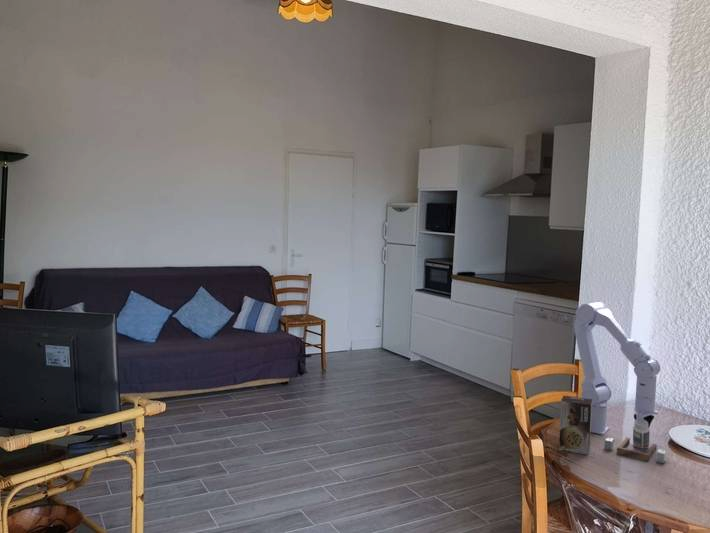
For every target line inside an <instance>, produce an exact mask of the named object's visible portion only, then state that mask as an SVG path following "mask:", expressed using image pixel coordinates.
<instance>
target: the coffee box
mask: <svg viewBox="0 0 710 533" xmlns="http://www.w3.org/2000/svg"><path fill="white" fill-rule="evenodd" d="M559 416H560V417H559V418H560V421H559V435H558V436H559V438H558V439H559V440H558V450H559V449H561V450H560V451H563V450H566V451H565V452H568V451H571V453H575V454H576V453H577V454H580V453H581V454H580V455H587V456H588V455H590V452H591V451H590V450H591V433H592V432H591V417H592V399H586V398H582V397H579V396H570V395H563V396H562V398H561V401H560V415H559Z"/></svg>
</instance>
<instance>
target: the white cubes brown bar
mask: <svg viewBox="0 0 710 533" xmlns="http://www.w3.org/2000/svg"><path fill="white" fill-rule="evenodd" d="M630 440H631V438H630V437H625V439H624V440H623V441H622V442H621V444H619V446H617V447H616V455H620V456H624V457H629V458H632V459H637V460H640V461H644V462H649V461H650V459H651V458H652V457H653V455H654V453H655V451H656V450H657V451H656V460H655V462H656V463H660V464H664V463H666V460H667V459H666V458H667V450H665V449H660V448H659V449H657V443H652V445H651V446H650V448H649V449H648V451H647V452H643V451H638V450H633V449H629V448H626V447H627V446H628V445H629V443H630ZM614 442H615V438H612V437H609V436H608V437H606V438H605V439H604V448H603V449H604V450H607V451H612V450H613V449H614V447H615V446H614V444H615V443H614Z"/></svg>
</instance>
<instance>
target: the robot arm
mask: <svg viewBox="0 0 710 533" xmlns="http://www.w3.org/2000/svg"><path fill="white" fill-rule="evenodd" d="M596 325H597V326H600V327H604V328H605V329H606V330H607V331H608V332H609V334H611V337H613V338H614V340H616V342H618V343H619V345H620V352H621V353H622V354H623V355H624V356H625V357H626V359H627V360H628V361H629V363H630V364H631V365H632V366H633V372H634V374H635V375H636V384H635V387H636V388H635V398H634V400H635V401H634V407H633V411H634V412H635V413H634V414H633V418H634V421H635V420H638V421H643V420H646V421H647V422H648V427H649V428H650V427H651V424H652V422H653V420H654V419H655V416H654V415H658V414H659V410H655V405H656V404H655V403H656V391H657V389H656V388H657V375H659V373H660V371H661V365H660V363H659V362H658V360H657V359H655V358H653V357H651V355H650V354H648V353H647V352H646V351H645V350H644V349H643V347H642V344H641V342H639V341H637V340H636V339H631V338H629V336H628V334H627V333H626V331H624V329H623V327H622V326H621V325H620V324H619V323H618V321H617V320H616V318H615V317H614V315H613V314H612V311H611V310H610V309H609V308H608V307H607V306H606V304H605V303H604V302H601V301H596V302H591V303H583V304H581V305H579V307H578V308H577V309H576V310H575V320H574V325H573V331H574V335H575V339H576V344H577V348H578V352H579V357H580V362H581V367H582V371H583V376H584V378H583V380H582V383H581V388H582V389H581V398H586V399H592V417H591V433H592V434H593V433H594V434H598V435H601V436H604V435H605V434H606V432H608V430H609V429H610V427H609V426H607V411H608V401H609V400H610V399H611V397H612V390H611V388H610V386H609V385H608V383H607V380H606V378H605V377H603V375H602V372H601V368H600V364H599V359H598V355H597V350H596V346H595V341H594V337H593V332H592V330H593V329H594V328H595V327H596Z"/></svg>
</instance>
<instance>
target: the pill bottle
mask: <svg viewBox="0 0 710 533" xmlns="http://www.w3.org/2000/svg"><path fill="white" fill-rule="evenodd" d="M633 424H634V425H633V427H632V431H633V432H632V444H633V445H634V447H636V448H638V449H647V448H648V447H649V446H650V427H648V422H647V421H646V420H643V421H638V420H635V419H634V423H633Z"/></svg>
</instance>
